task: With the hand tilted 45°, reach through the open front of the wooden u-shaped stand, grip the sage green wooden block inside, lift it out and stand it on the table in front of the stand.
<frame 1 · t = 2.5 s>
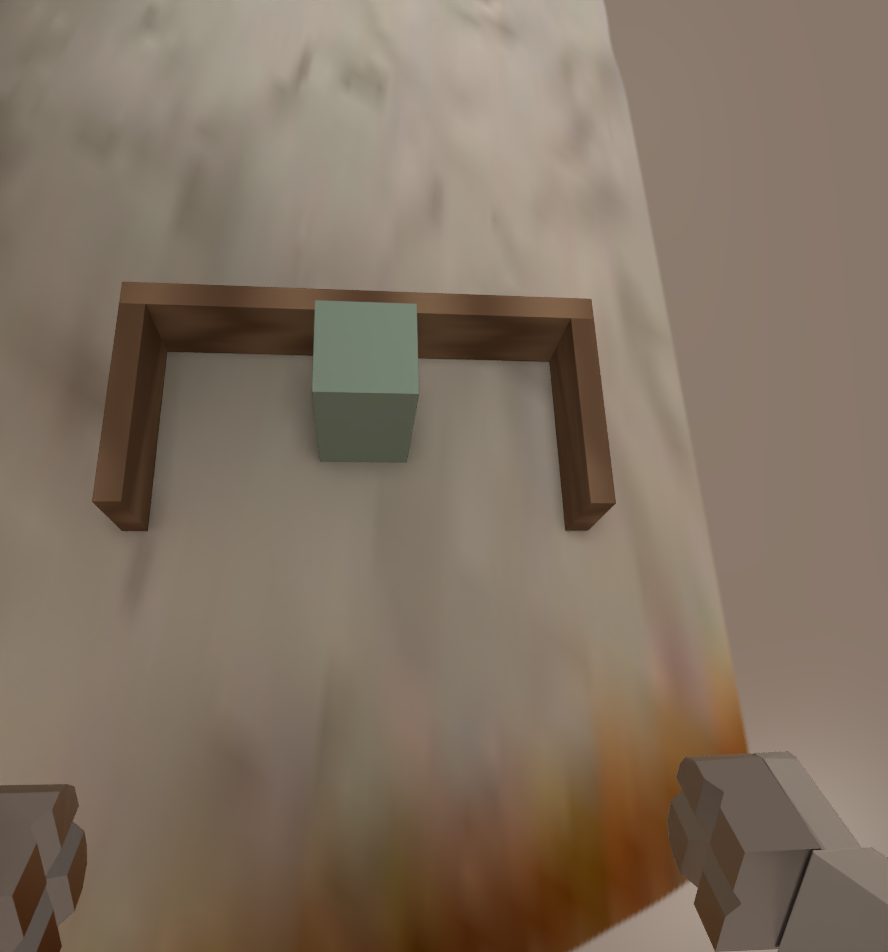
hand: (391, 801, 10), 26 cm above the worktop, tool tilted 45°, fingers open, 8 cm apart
sage green block: (364, 388, 36), in the wooden u-shaped stand
wooden u-shaped stand: (363, 422, 40), on the worktop
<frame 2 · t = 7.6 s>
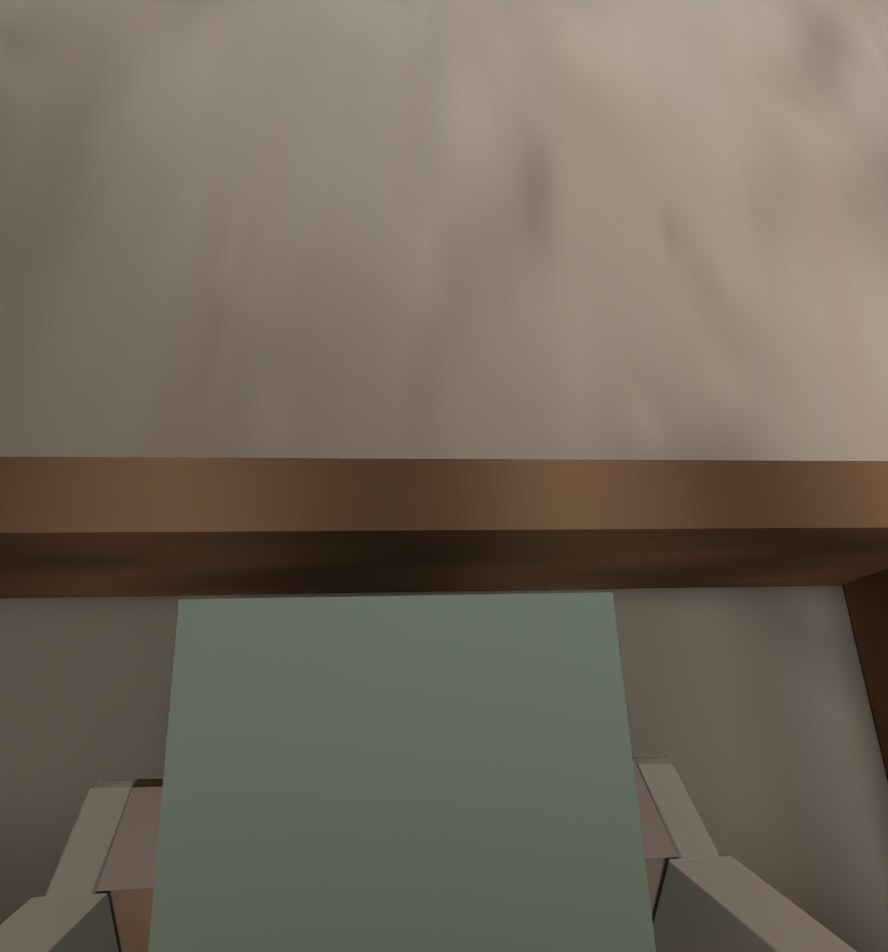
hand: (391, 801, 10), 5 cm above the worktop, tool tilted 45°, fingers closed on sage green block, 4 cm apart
sage green block: (389, 810, 11), in the wooden u-shaped stand, touching gripper
wooden u-shaped stand: (381, 798, 14), on the worktop
when the fingers open (6 cm above the worktop, at t = 13.7 s): sage green block drops 1 cm, on the worktop.
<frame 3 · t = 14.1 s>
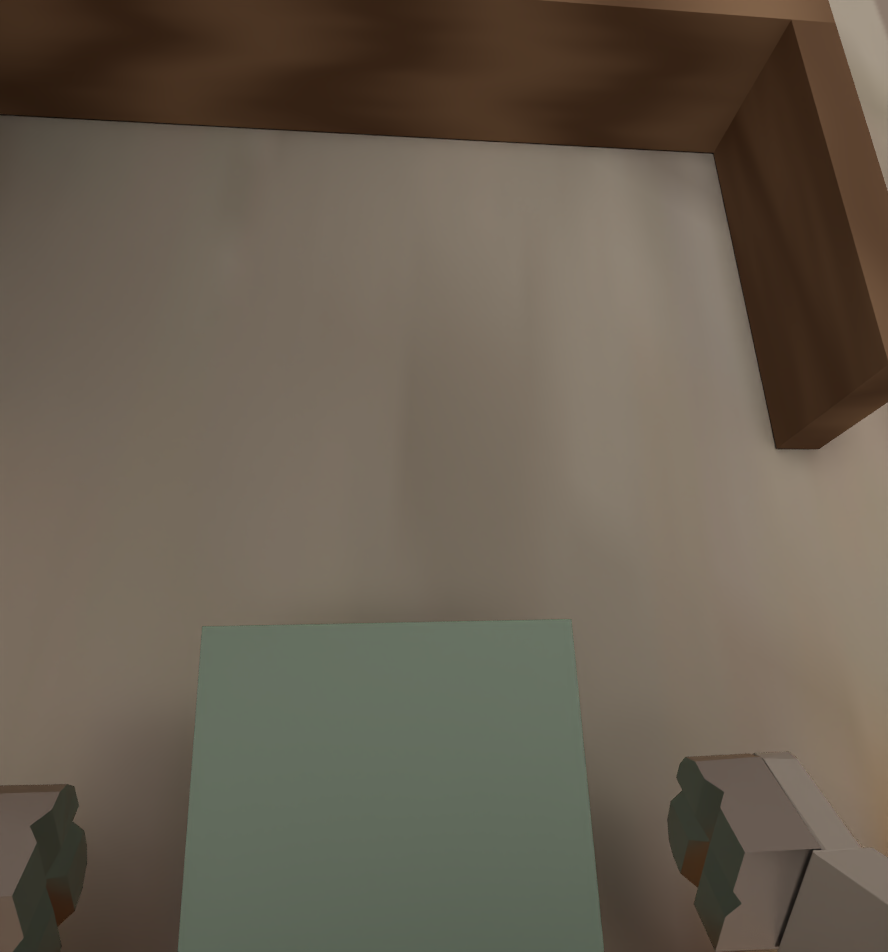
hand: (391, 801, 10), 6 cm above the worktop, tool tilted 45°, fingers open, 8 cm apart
sage green block: (383, 806, 12), on the worktop
wooden u-shaped stand: (376, 246, 21), on the worktop
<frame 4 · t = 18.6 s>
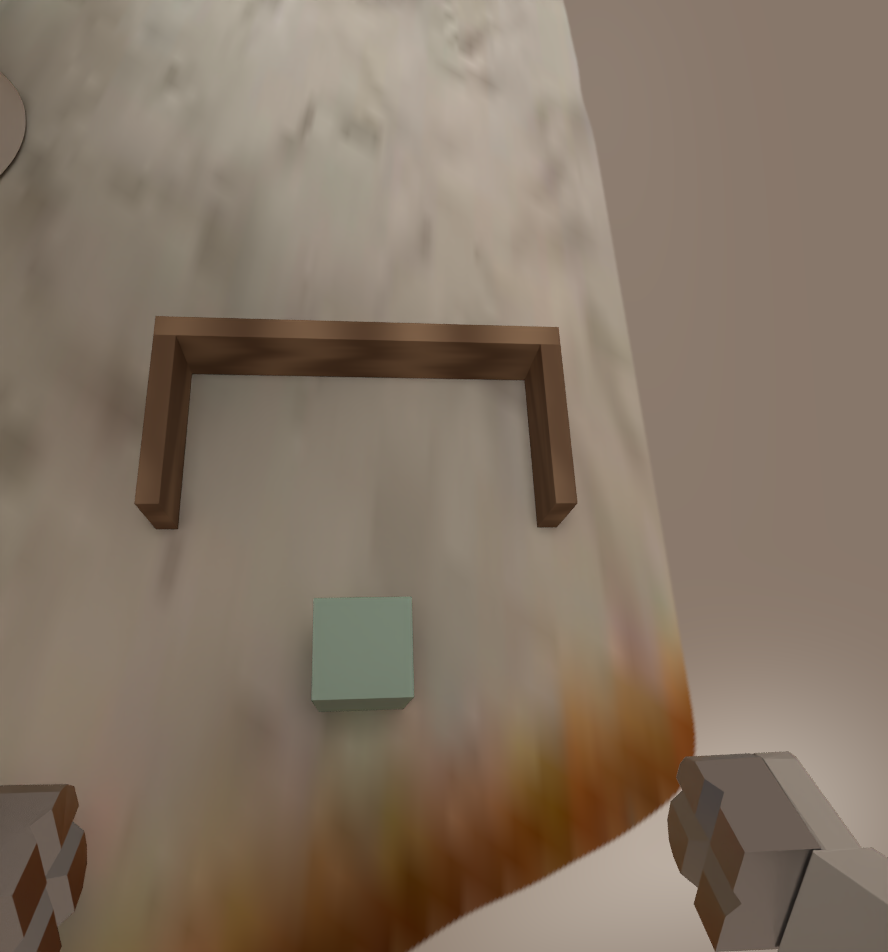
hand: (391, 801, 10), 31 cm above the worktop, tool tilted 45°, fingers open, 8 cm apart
sage green block: (362, 658, 37), on the worktop
wooden u-shaped stand: (362, 434, 46), on the worktop
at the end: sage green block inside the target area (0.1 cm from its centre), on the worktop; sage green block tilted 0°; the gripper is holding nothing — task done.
